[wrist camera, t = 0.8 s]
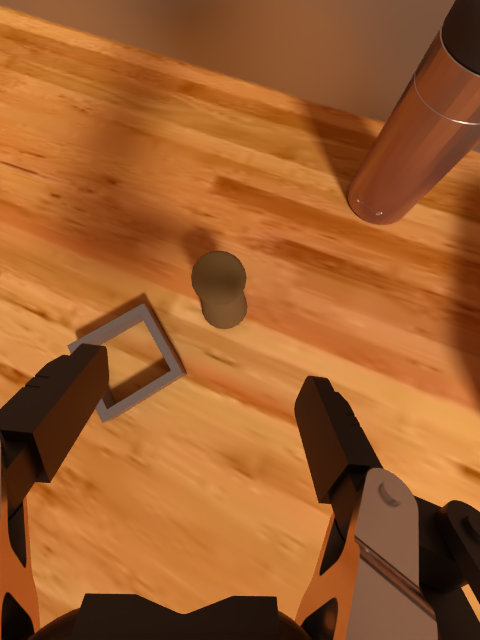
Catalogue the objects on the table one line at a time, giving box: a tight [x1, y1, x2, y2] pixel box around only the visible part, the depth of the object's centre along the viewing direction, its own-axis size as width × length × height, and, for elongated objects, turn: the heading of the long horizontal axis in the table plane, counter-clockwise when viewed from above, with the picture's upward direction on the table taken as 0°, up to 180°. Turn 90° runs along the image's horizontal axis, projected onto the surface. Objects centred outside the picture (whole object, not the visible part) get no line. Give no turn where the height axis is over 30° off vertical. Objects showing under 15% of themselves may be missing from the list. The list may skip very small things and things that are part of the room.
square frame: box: [67, 303, 187, 423], centre depth 29 cm, size 10×10×2 cm
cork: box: [191, 251, 247, 329], centre depth 26 cm, size 6×6×11 cm
